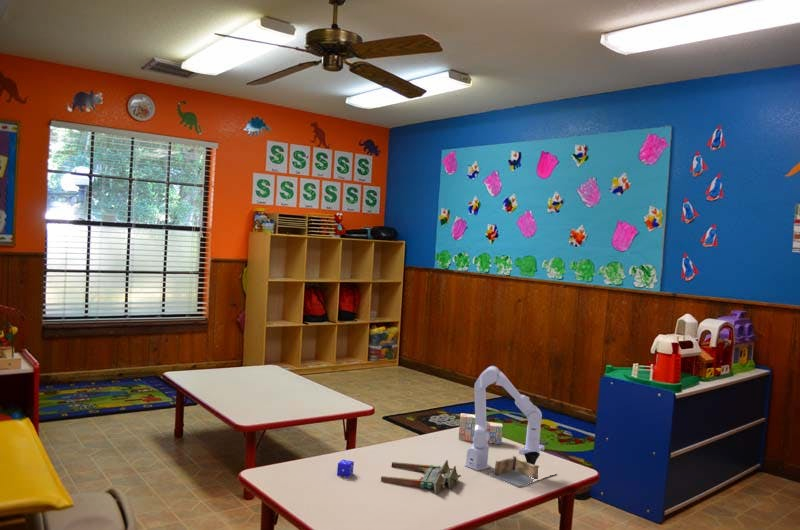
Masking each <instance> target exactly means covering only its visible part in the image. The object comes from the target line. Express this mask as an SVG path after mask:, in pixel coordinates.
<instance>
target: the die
mask: <svg viewBox="0 0 800 530" xmlns="http://www.w3.org/2000/svg"><path fill="white" fill-rule="evenodd" d="M354 462H355V461H353V460H347V459H342V460H340V461H339V462H338V463H337V469H336V470H337V471H336V475H337V476H339V475H341V476H340V477H343V476H345V477H344V478H349V477H350V475H351V476H352V475H353V474H354V465H355V463H354Z"/></svg>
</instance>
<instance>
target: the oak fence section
mask: <svg viewBox="0 0 800 530" xmlns="http://www.w3.org/2000/svg"><path fill="white" fill-rule="evenodd" d="M539 467H540V466H539V465H537V464H535V465H533V464H530V463H528V462H526V460H523V459H520V458H517V457H516V465H515V470H516V471H518V472H520V473H523V474H525V475H527V476H530V477H532V478H534V479H538V468H539Z"/></svg>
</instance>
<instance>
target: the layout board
mask: <svg viewBox="0 0 800 530" xmlns="http://www.w3.org/2000/svg"><path fill="white" fill-rule="evenodd" d="M487 475H488V476H489V475H490V476H489V477H492V476H493V477H492V478H494V477H495V479H497V478H498V479H497V480H499V479H500V480H499V481H502V480H503V481H502V482H504V481H505V482H504V483H506V482H508V483H507V484H509V483H510V485H511V484H513V485H512V486H514V485H515V486H514V487H516V486H518V487H517V488H519V487H520V488H522V487H521V486H523V485H526V484H528V483H530V482H533V480H534V479H531V477H529V476H527V475H525V474H523V473H520V472H518V471H516V470H513V471H510V472H507V473H503V474H500V475H498V476H496V475H495V471H492V472H490V473H487ZM528 485H529V484H528ZM526 486H527V485H526ZM523 487H524V486H523Z"/></svg>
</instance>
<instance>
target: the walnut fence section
mask: <svg viewBox="0 0 800 530" xmlns="http://www.w3.org/2000/svg"><path fill="white" fill-rule="evenodd" d="M516 459H517V456H515V455H513V456H512V457H509V458H505V459H502V460H499V461H498V460H496V461H495V467H494V468H495V469H494V472H495V475H496V476H498V475H500V474H503V473H507V472H510V471H513V470H515V465H516Z"/></svg>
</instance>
